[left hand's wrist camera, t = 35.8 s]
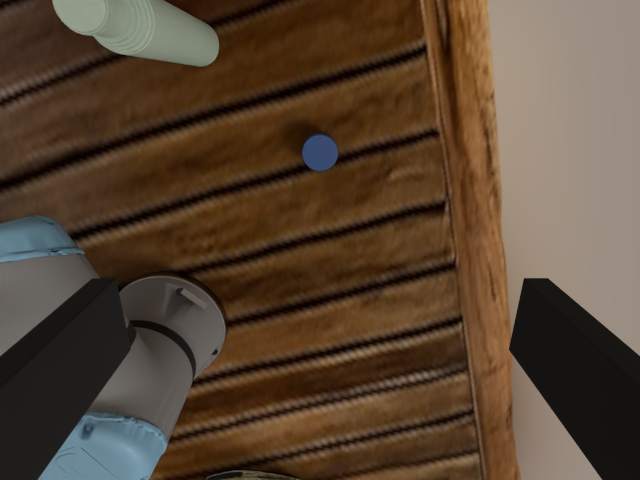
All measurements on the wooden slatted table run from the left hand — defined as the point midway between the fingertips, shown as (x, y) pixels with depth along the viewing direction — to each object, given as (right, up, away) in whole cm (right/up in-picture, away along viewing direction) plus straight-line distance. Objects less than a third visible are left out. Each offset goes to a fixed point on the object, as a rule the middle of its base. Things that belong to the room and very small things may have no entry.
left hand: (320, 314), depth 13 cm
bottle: (-13, +23, +28) cm, 39 cm away
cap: (0, +12, +31) cm, 33 cm away
